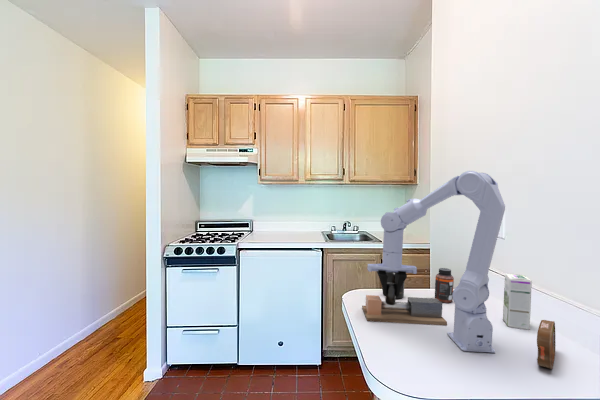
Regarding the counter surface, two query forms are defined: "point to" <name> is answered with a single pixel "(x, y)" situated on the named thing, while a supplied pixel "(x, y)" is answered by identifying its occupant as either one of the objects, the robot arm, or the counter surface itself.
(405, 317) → the base board
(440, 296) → the supplement bottle
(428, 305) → the sleeve
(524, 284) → the syrup box
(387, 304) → the slide bolt
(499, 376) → the counter surface
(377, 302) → the socket
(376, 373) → the counter surface
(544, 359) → the tin
